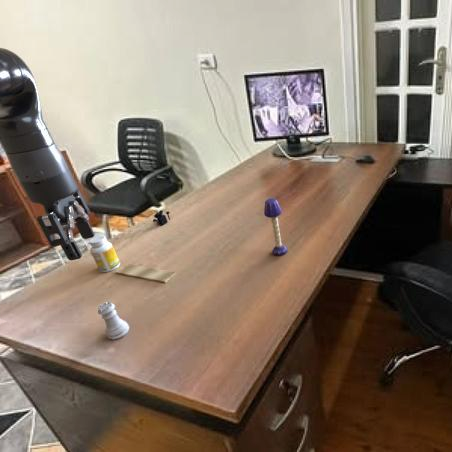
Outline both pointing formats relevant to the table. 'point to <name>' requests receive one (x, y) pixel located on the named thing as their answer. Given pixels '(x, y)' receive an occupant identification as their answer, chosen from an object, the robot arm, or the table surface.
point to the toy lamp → (275, 224)
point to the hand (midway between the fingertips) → (83, 247)
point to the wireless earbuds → (161, 218)
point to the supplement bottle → (103, 254)
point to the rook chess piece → (112, 321)
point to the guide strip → (146, 273)
